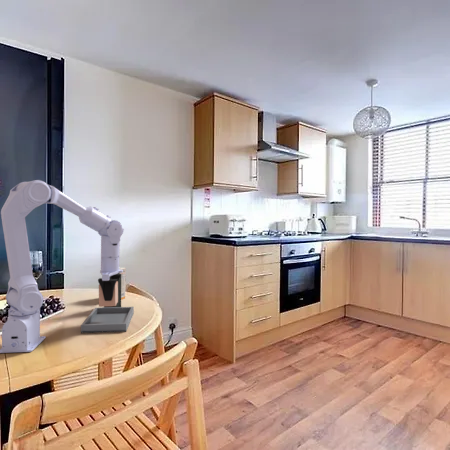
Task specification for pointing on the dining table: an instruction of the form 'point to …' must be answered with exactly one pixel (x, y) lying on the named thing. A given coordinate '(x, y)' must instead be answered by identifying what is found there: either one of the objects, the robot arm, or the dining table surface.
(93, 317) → the tray
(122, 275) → the supplement box
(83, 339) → the dining table surface
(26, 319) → the robot arm
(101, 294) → the cup
